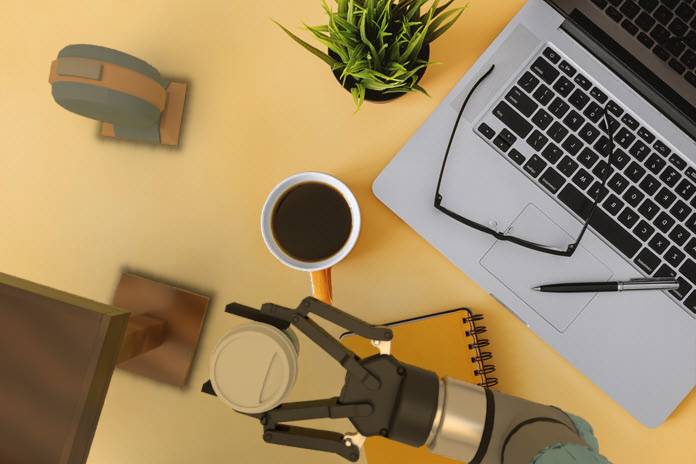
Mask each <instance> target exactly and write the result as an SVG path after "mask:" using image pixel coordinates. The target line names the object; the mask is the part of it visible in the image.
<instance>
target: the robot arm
mask: <svg viewBox="0 0 696 464" xmlns="http://www.w3.org/2000/svg"><path fill="white" fill-rule="evenodd" d="M223 312H224V313H226V314H230V315H233V316H236V317H240V318H243V319H247V320H250V321H252V322H260V323H265V324H269V325H271V326H273V327H276V328H280V329H283V330H286V329H287V328H289V327H290V328H291V325H292V326H293V327H295V328H296V329H297V330H298V331H300V332H301V333H302V334H303V335H305V336H306V337H307V338H308V339H309V340H311V341H312V342H313V343H314V344H316V345H317V346H318V347H319V348H320V349H321V350H323V351H324V352H325V353H327V354H328V355H329V356H330V357H331V358H333V359H334V360H335V361H336V362H338V364H339V365H340V366H341V367H342V368H343V369H344V370H345V371H346V373H345V376H344V383H343V386H342V388H341V390H340V392H339V393H340V394H339V395H337V396H336V395H335V396H332V397H329V398H319V399H310V400H300V401H290V402H282V403H281V404H279V405H278V406H276V407H274V408H273V409H271V410H268V411H265V412H261V413H245V412H240V411H237V410H234V409H232V410H233V412H235V413H237V414H241V415H243V416H246V417H247V416H248V417H250V418H252V419H256V420H259V423H260V424H261V426H262V429H263V430H262V431H263V433H262V440H263V442H265V443H266V444H270V445H277V446H278V445H279V446H285V447H291V448H297V449H303V450H304V449H305V450H310V451H311V450H312V451H317V452H324V453H330V454H336V455H338V456H340V457H342V458H343V459H345V460H347V461H349V462H351V463H357V462H358V461H359V460H360V456H361V454H360V453H361V450H362V448H363V445H364V444H365V442H366V440H367V438H372V437H382V438H385V439H388V440H389V441H394V442H397V443H400V444H404V445H406V446H409V447H412V448H416V449H420V448H422V447H423V446H424V445H425V447H426V449H427V451H428V452H429V453H431V454H434V455H438V456H442V457H445V458H449V459H452V460H454V461H459V462H462V463H466V464H614V463H613V462H612V461H609V459H608V457H607V456H606V455H603V454H601V453H600V445H599V442H598V438H597V437H596V436H595V431H594V427H593V426H592V425H591V424H590V422H589V421H588V420H586V419H585V418H583V417H582V416H580V415H577V414H574V413H570V412H569V411H565V410H563V409H562V408H561V407H560V406H559V407H558V406H555V405H552V404H550V405H549V404H544V403H540V402H536V401H533V400H529V399H526V398H522V397H519V396H516V395H512V394H509V393H506V392H502V391H498V390H495V389H492V388H488V387H485V386H482V385H478V384H475V383H472V382H469V381H466V380H462V379H459V378H456V377H453V376H450V375H447V374H446V375H443V376H442V377H439V375H438V374H437V372H436V371H433V370H430V369H426V368H424V367H420V366H417V365H414V364H410V363H406V362H403V361H401V360H398V359H397V358H396V357H395V356H394V355H393V354H391V351H392V340H393V339H394V331H393V329H392V327H391V326H389V325H382V324H371V323H370V322H368V321H365V320H363V319H361V318H359V317H357V316H355V315H352V314H350V313H348V312H347V311H344V310H342V309H340V308H337V307H335V306H334V305H332V304H329V303H327V302H325V301H323V300H321V299H318V298H317V297H314V296H312V295H308V296H306V297H304V298H303V299H302V300H301V302H300V303H299V304H298V306H297V307H296V308H290V307H287V306H284V305H281V304H277V303H273V302H264V303H262V304H261V306H260V309H258V308H255V307H252V306H249V305H245V304H243V303H238V302H236V301H233V302H230V303H227V304H226V305H225V308H224V310H223ZM309 313H311V314H313V315H315V316H317V317H319V318H322V319H323V320H326V321H327V322H330V323H332V324H334V325H336V326H339V327H340V328H343V329H345V330H347V331H349V332H351V333H354V334H355V335H357V336H360V337H361V338H364V339H367V340H370V344H371V345H372V347H375V348H377V349H378V350H379V352H378V353H375V354H372V355H370V356H366V357H363V358H361V356H359V355H358V354H357V353H355V351H353V350H351V348H348V347H347V346H346V345H344V344H343V343H342V342H341V341H340V340H338V339H337V338H336V337H334V336H333V334H331V333H330V332H328V331H327V330H326V329H325V328H323V327H322V326H321V325H320V324H318V323H317V322H316V321H315V320H314V319H313V318H312V317H310V316H309V315H308V314H309ZM200 393H204V394H207V395H210V396H214V397H216V398H219V397H218V396H217V394H216V393H215V391H214V389H213V387H212V384H211V380H210V378H209V379H208V380H207V381H205V382H204V383H202V385H201V389H200ZM320 419H330V420H337V419H338V420H339V419H348V421H349V422H350V423H351V424H352V426H353V427H354V428H355V430H356V431H353V432H352V431H346V432H344V433H341V432H338V431H332V430H328V429H327V430H326V429H319V428H313V427H305V426H301V425H292V424H286V423H289V422H290V423H291V422H299V421H310V420H320Z"/></svg>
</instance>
